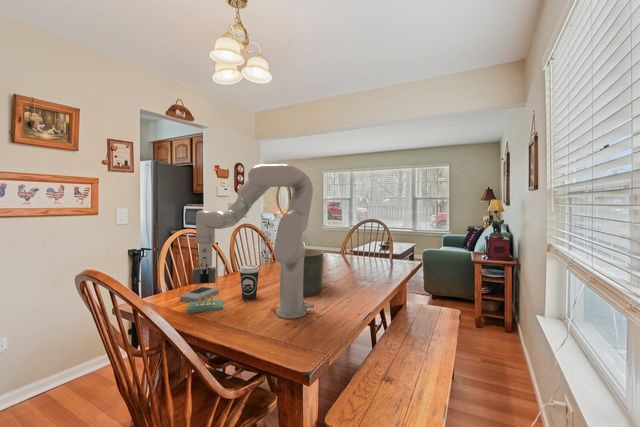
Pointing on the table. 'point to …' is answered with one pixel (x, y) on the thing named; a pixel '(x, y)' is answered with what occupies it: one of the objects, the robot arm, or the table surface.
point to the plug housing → (210, 271)
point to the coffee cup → (249, 281)
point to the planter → (313, 272)
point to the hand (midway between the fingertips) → (204, 281)
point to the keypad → (199, 294)
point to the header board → (205, 305)
